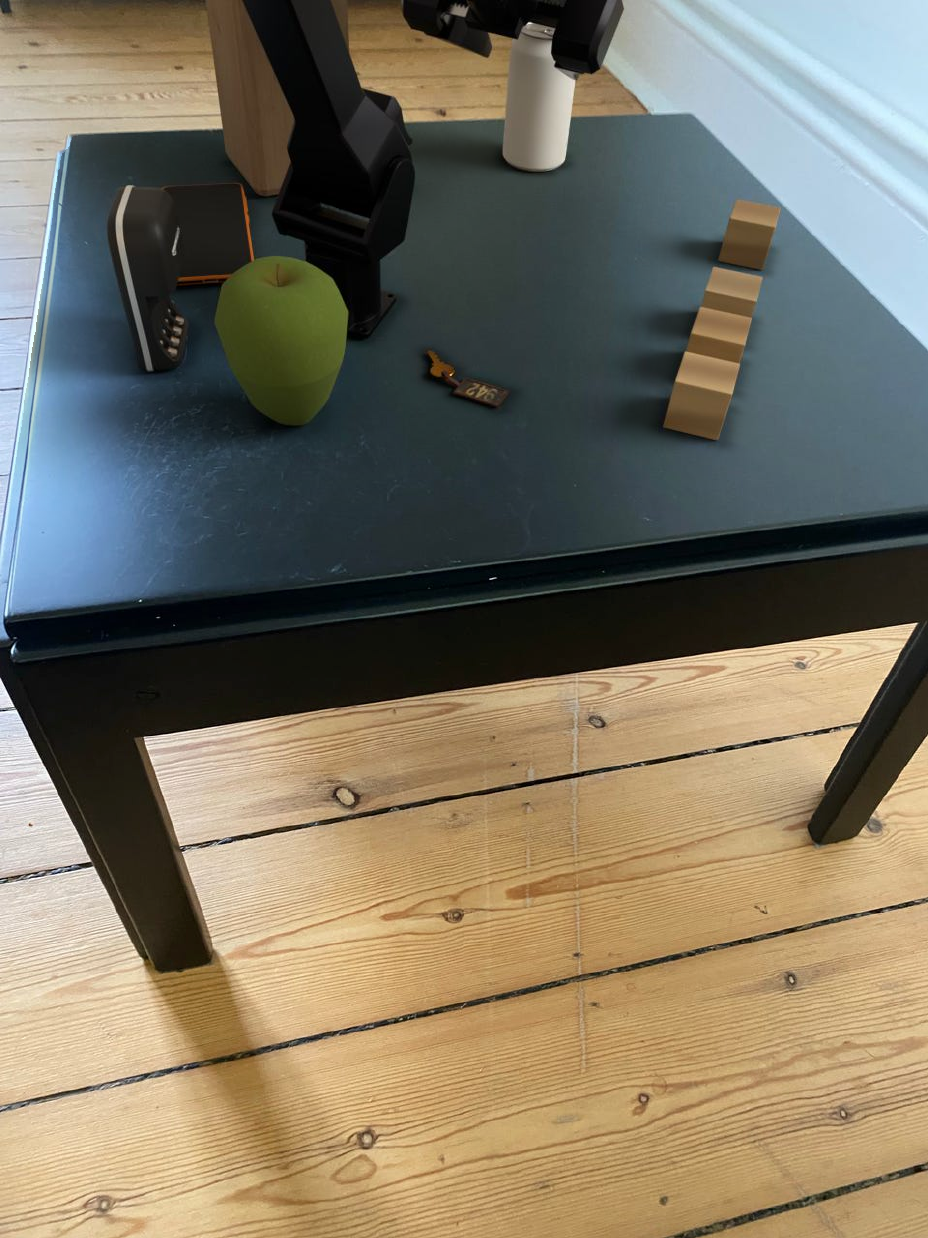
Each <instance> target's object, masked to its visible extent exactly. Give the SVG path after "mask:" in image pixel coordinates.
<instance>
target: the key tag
mask: <svg viewBox="0 0 928 1238" xmlns="http://www.w3.org/2000/svg"><path fill="white" fill-rule="evenodd" d="M427 356H428V357H429V359H430V360H431V362H432V363H431V365H430V367H431V368H430V370H429V373H430V375H431V376H433V377H434V378H437V379H443V380H444V381H445V382H446V383H447V384H448V385H449V386H451V387H455V389H454V390H453V392H452V394H453V395H456V396H459V397H463V398H466V399H469V400H472V401H474V402H479V403H481V404H485V405H488V406H491V407H494V408H499V407H500V406H501V404H502V403H503V402H504V401H505V399H506V397H508V395H509V394H510V390H509V389H505V388H502V387H499V386H496V385H493V384H491V383H486V382H483V381H481V380H477V379H473V378H470V377H465V376H464V378H463V379H462V380H461V382H459V381H458V380H456V379H455V378H454V377H453V376H454V375H455V372H456V371H455V368H454V367H453V366H452V365H449V364H445V361H441V358H439V355H437V354H436V352H435V351H433V350H428V351H427Z"/></svg>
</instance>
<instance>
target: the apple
mask: <svg viewBox="0 0 928 1238" xmlns="http://www.w3.org/2000/svg"><path fill="white" fill-rule="evenodd" d="M213 322H214V325H215V328H216V331H217V334H218V337H219V339H220V342H221V345H222V348H223V351H224V353H225V357H226V359H227V361H228V364H229V367H230V369H231V372H232V373H233V375H234V377H235V378H236V381H237V382H238V384H239V385H240V387H241V388H242V390H243V392H244V393H245V395H246V396H247V399H248V400H249V402H250V404H251V405H252V406H253V407H254V408H256V410H258V411H259V412H260V413H261V414H263V415H264V416H266V417H267V418H269V419H271V420H273V421H274V422H276V423H278V424H280V425H285V426H295V427H296V426H305V425H306V424H309V423H310V422H311V421H312V420H313V419H314V418H315V417H316V416H317V414H318V413H319V412H320V411H321V409H323V407H324V406H325V404H326V403H327V402H328V400H329V399H330V396H331V394H332V391H333V388H334V386H335V383H336V380H337V378H338V376H339V372H340V370H341V368H342V365H343V362H344V357H345V353H346V347H347V336H348V335H347V323H348V310H347V307H346V305H345V303H344V301H343V298H342V296H341V294H340V291H339V289H338V287H337V286H336V284H335V282H334V280H333V278H331V277H330V276H328V275H327V274H326V273H324V272H323V271H321V270H320V269H319V268H317V267H315V266H313V265H312V264H310V263H308V262H306V260H303V259H298V258H295V257H290V256H282V255H269V256H261V257H257V258H254V261H252V262H250V263H248V264H246V265H245V266H243V267H242V268H240V269H239V270H237V271H236V272H234V273H233V274H232V275H231V276H230V277H229V278H228V279H227V280H226V281H225V282H222V284H221V288H220V293H219V297H218V302H217V307H216V311H215V316H214V320H213Z"/></svg>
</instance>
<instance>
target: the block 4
mask: <svg viewBox="0 0 928 1238" xmlns="http://www.w3.org/2000/svg"><path fill="white" fill-rule="evenodd" d="M740 367H741V363H734V362H730V361H725V360H721V359H717V358H712V357H708V356H704V355H699V354H695V353H690V352H686V351H684V353H683V355H682V359H681V362H680V365H679V368H678V371H677V373H676V375H675V379H674V382H673V387H672V390H671V395H670V398H669V402H668V405H667V410H666V414H665V418H664V422H663V425H662V427H663V428H664V429H668V430H673V431H676V432H681V433H684V434H688V435H692V436H697V437H701V438H704V439H709V440H714V441H719V438H720V435H721V432H722V429H723V426H724V422H725V420H726V416H727V414H728V409H729V406H730V403H731V400H732V396H733V394H734V389H735V386H736V381H737V379H738V375H739V374H738V373H739V371H740Z"/></svg>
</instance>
